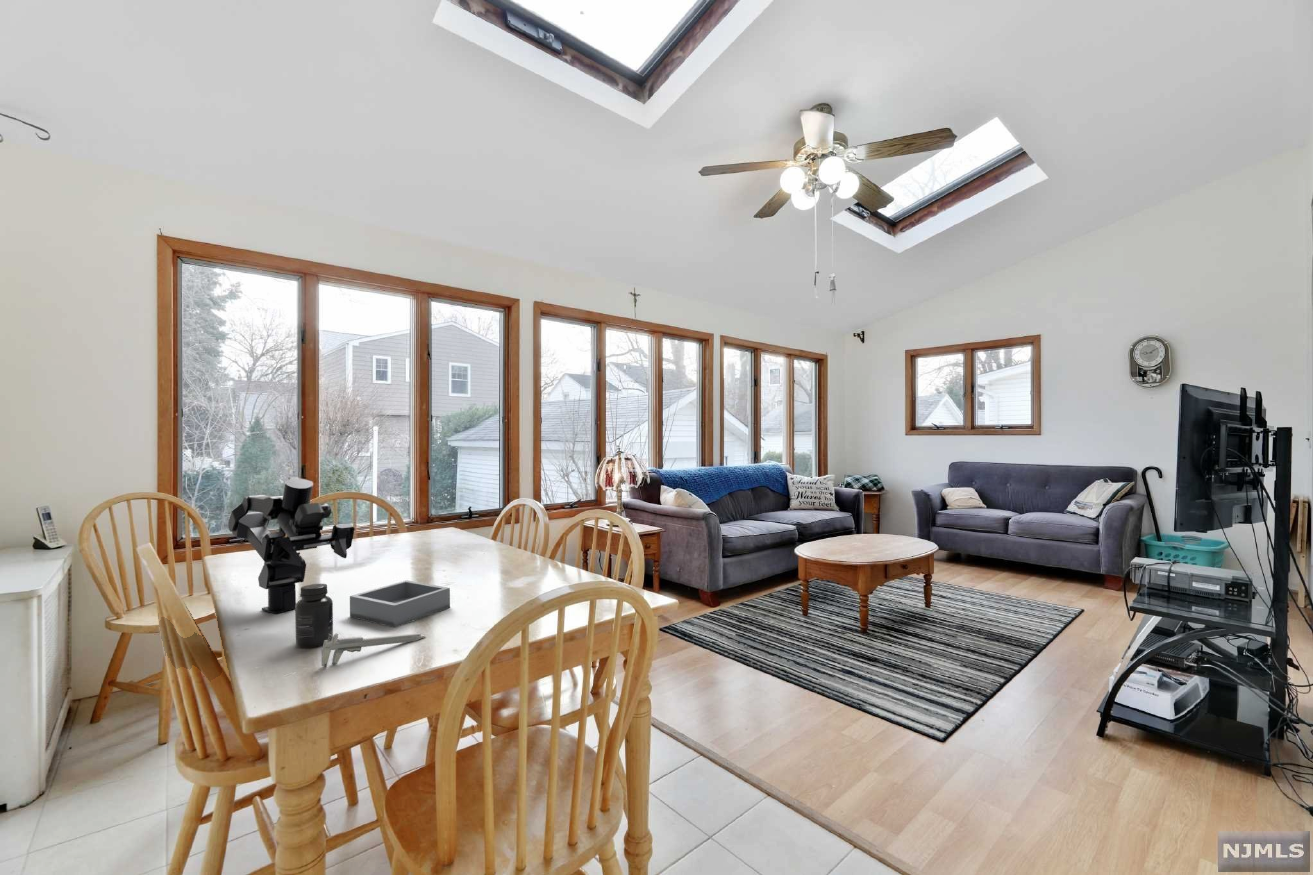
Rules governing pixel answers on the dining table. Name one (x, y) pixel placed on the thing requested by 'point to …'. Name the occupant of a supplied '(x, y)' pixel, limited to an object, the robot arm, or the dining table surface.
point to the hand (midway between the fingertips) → (324, 560)
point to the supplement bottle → (313, 616)
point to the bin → (399, 603)
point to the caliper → (359, 644)
